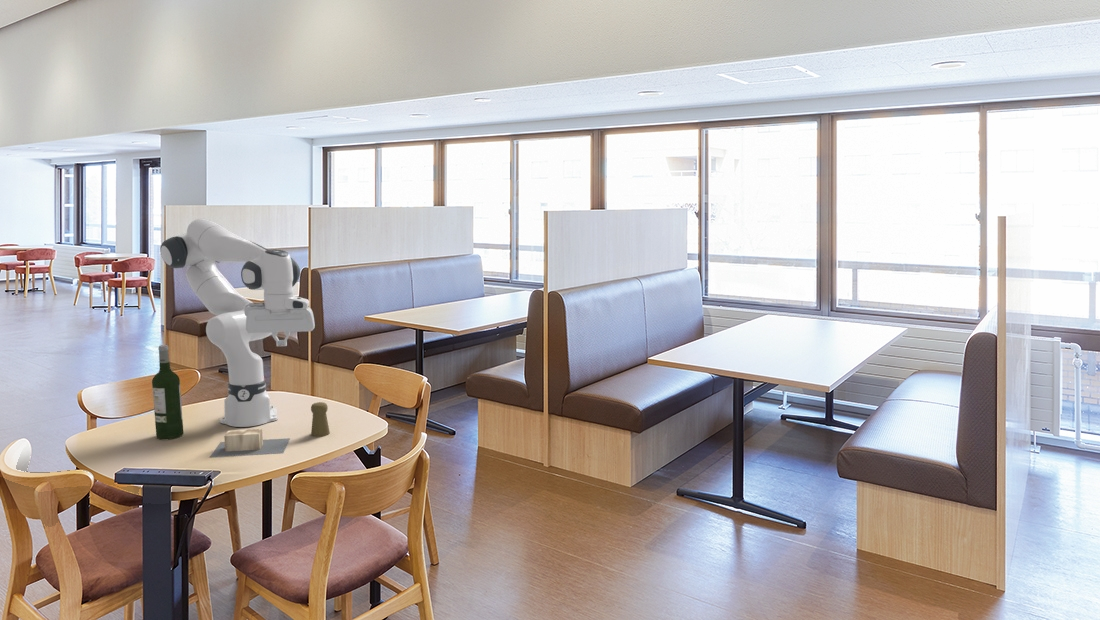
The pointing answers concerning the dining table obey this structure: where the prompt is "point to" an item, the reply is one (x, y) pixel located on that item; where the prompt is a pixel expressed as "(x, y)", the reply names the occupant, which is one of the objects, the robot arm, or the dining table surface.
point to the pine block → (243, 440)
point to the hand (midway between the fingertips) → (281, 346)
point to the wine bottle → (167, 399)
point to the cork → (319, 420)
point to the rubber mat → (267, 448)
